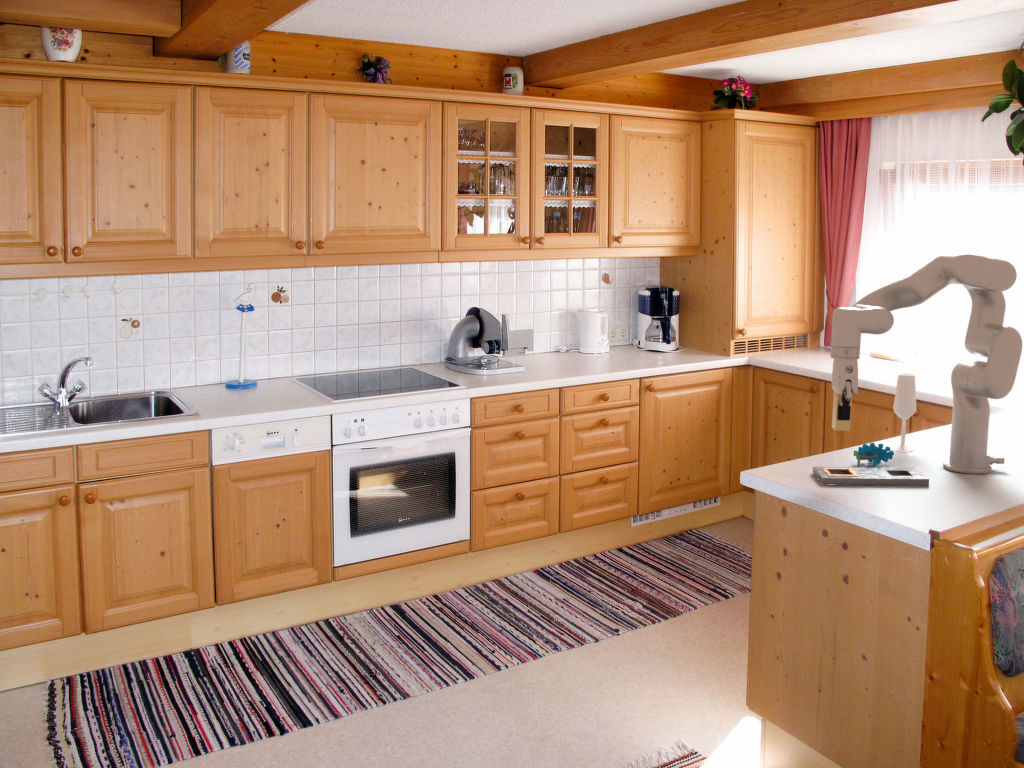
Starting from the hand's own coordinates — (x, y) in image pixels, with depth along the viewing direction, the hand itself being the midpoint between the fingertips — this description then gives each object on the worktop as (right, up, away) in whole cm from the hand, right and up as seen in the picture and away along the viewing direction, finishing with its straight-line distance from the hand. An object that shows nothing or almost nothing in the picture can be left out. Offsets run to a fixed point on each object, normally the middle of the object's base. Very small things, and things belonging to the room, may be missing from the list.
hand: (841, 417), depth 255 cm
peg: (0, -3, +1) cm, 3 cm away
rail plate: (+8, -17, +2) cm, 19 cm away
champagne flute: (+32, -12, +36) cm, 49 cm away
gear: (+15, -15, +18) cm, 28 cm away
